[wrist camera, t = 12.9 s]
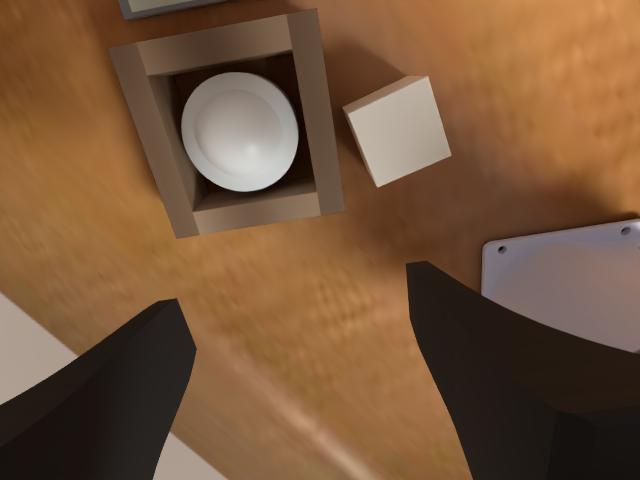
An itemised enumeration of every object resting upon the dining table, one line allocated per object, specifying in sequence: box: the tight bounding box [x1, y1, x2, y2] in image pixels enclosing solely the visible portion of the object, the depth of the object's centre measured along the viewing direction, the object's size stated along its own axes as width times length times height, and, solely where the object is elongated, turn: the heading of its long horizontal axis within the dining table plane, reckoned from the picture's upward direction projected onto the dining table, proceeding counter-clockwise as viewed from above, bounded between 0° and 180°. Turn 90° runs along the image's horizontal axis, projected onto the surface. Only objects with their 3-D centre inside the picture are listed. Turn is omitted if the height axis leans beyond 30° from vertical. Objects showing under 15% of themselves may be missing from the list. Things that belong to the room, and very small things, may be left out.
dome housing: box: [107, 8, 346, 239], centre depth 17 cm, size 8×8×3 cm
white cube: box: [342, 76, 452, 188], centre depth 17 cm, size 4×4×4 cm
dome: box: [181, 72, 299, 191], centre depth 17 cm, size 5×5×4 cm
